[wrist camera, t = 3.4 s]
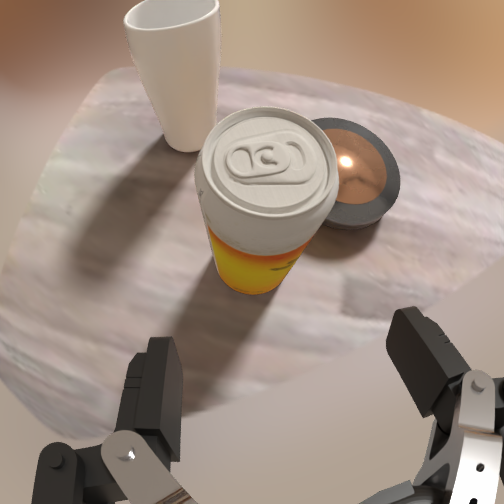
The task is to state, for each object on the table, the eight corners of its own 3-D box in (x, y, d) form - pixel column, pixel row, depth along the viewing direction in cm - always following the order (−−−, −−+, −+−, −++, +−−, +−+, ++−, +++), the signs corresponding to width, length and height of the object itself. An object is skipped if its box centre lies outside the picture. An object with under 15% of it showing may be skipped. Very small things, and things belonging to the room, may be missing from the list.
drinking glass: (230, 114, 30) (230, -10, 16) (216, 165, 28) (204, 31, 14) (170, 108, 30) (146, -8, 16) (150, 157, 28) (104, 35, 14)
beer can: (295, 288, 25) (367, 215, 11) (221, 302, 24) (200, 241, 10) (279, 221, 27) (320, 96, 12) (210, 232, 26) (185, 109, 12)
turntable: (373, 132, 29) (380, 120, 27) (403, 226, 26) (414, 218, 24) (274, 130, 29) (276, 116, 27) (291, 234, 25) (296, 224, 23)
